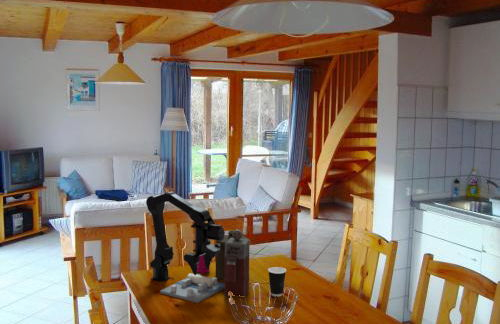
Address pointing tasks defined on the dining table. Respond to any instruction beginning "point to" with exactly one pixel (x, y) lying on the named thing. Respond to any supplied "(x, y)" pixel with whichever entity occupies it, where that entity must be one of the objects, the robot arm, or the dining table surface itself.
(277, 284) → the dixie cup
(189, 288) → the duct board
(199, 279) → the white cylinder
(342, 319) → the dining table surface
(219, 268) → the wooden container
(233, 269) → the dark jug
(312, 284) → the dining table surface
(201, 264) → the pepper mill
